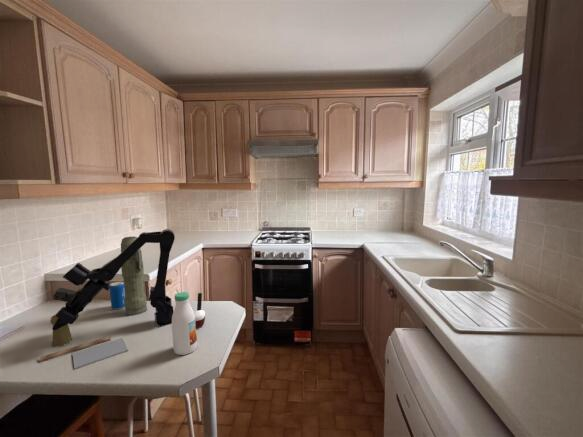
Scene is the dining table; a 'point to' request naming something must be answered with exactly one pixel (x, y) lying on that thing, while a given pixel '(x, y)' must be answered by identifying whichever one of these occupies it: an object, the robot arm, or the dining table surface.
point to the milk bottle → (183, 325)
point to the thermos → (133, 280)
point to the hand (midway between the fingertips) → (55, 326)
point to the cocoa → (199, 313)
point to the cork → (60, 334)
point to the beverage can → (117, 295)
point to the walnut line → (74, 349)
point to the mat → (99, 353)
